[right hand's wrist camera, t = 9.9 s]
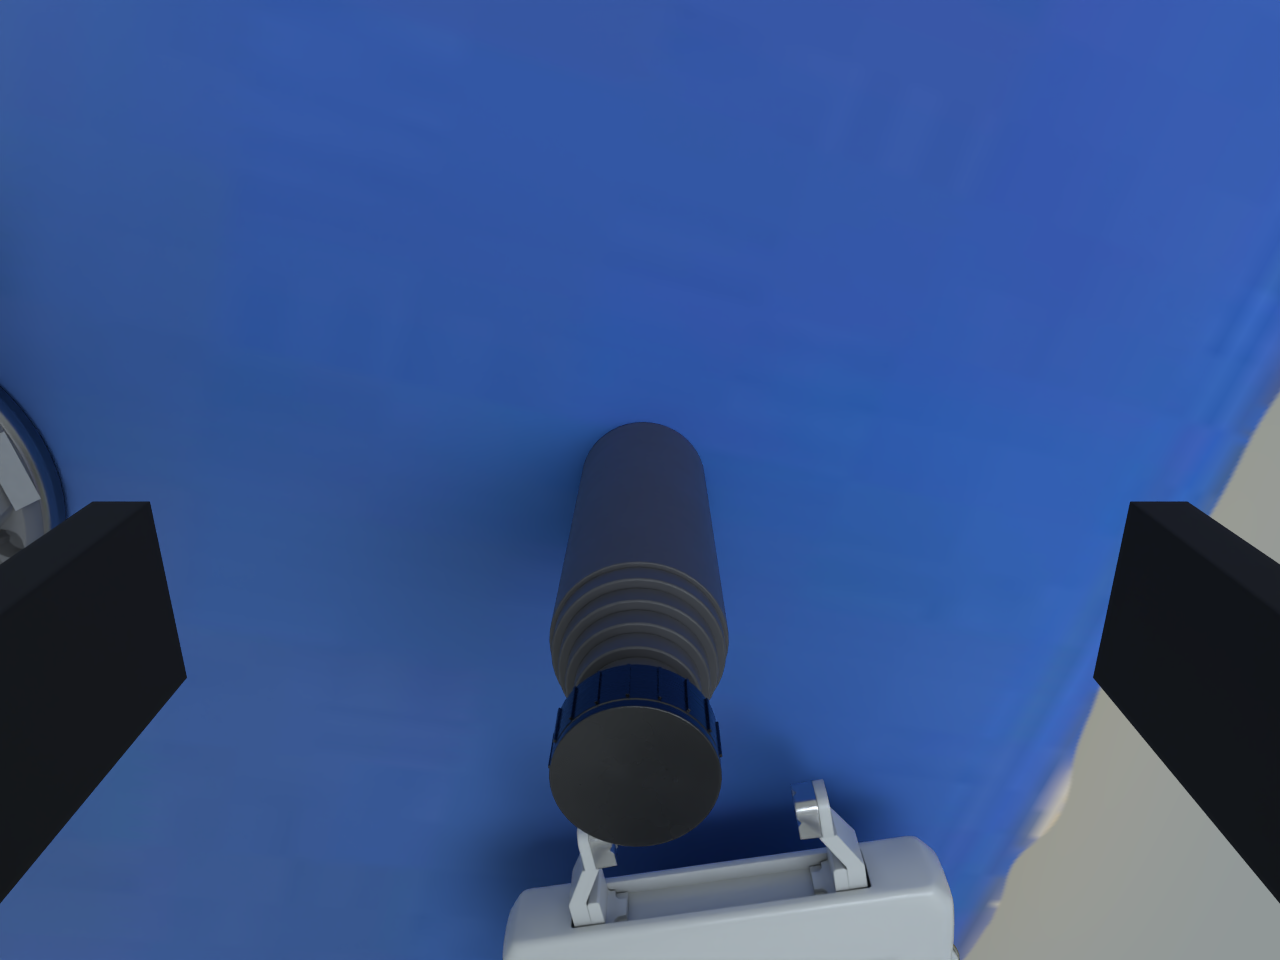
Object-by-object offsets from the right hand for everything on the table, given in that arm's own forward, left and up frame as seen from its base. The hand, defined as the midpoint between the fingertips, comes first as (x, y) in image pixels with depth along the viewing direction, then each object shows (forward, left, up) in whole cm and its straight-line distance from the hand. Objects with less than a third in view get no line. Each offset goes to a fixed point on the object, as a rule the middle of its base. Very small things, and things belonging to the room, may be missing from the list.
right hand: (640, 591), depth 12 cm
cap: (-5, -8, -7) cm, 12 cm away
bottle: (-5, -8, -27) cm, 29 cm away
